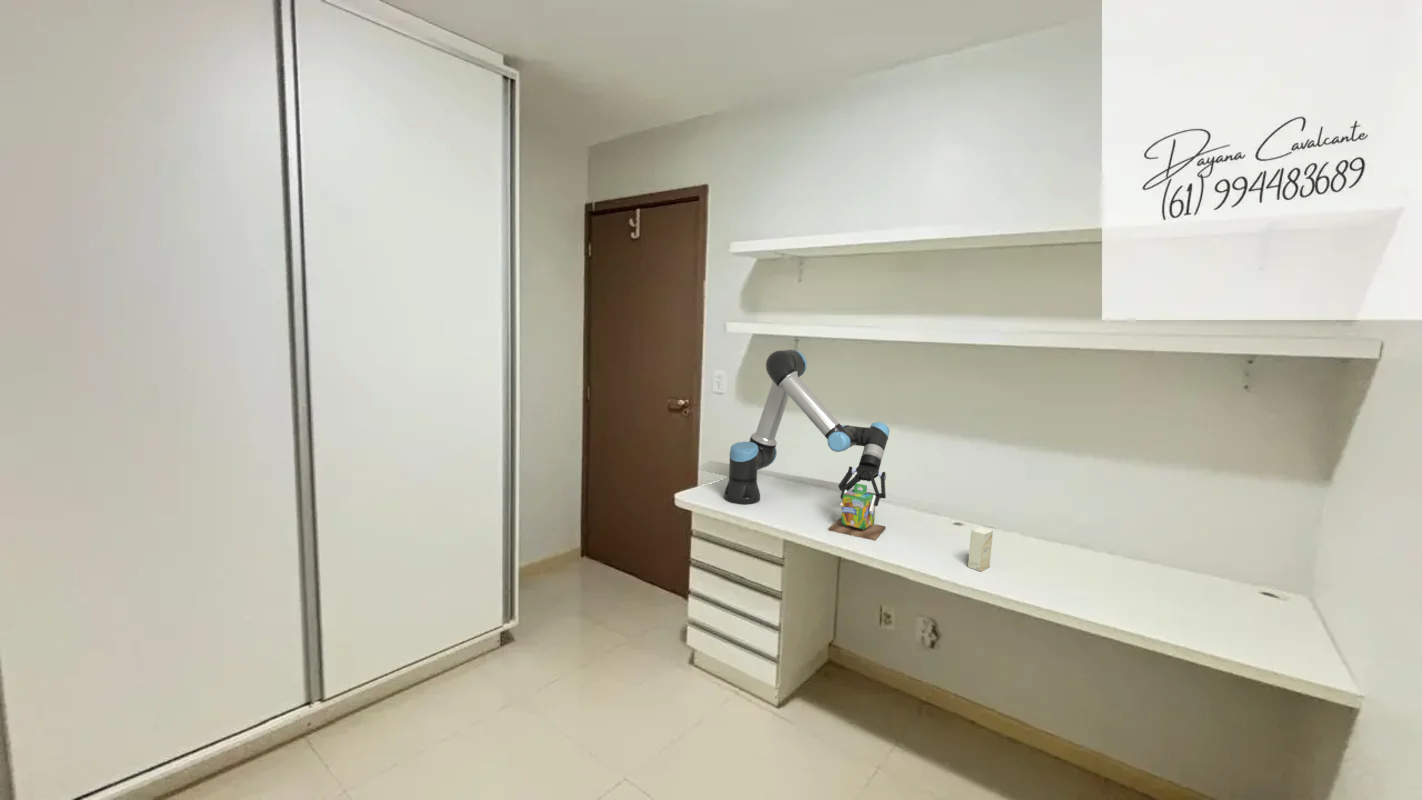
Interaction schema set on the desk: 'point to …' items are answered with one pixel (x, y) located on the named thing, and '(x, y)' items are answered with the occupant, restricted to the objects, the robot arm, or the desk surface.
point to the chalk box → (857, 508)
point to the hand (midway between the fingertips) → (856, 509)
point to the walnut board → (858, 530)
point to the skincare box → (980, 548)
